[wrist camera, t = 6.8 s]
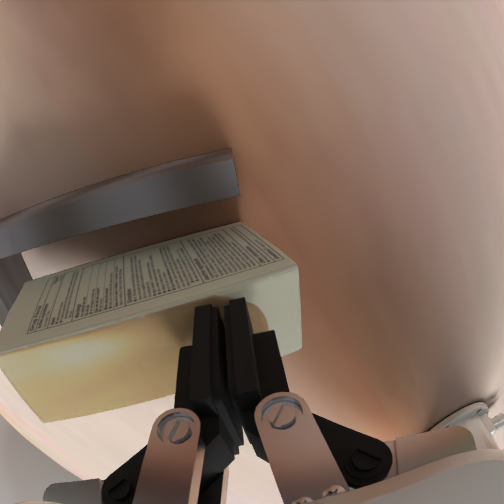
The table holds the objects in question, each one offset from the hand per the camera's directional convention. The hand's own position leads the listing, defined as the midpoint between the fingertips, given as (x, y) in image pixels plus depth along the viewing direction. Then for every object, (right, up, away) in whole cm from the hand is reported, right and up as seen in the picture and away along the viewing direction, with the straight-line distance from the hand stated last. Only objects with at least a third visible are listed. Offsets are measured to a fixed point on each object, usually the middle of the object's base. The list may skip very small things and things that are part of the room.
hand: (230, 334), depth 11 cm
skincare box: (+2, +2, +4) cm, 5 cm away
